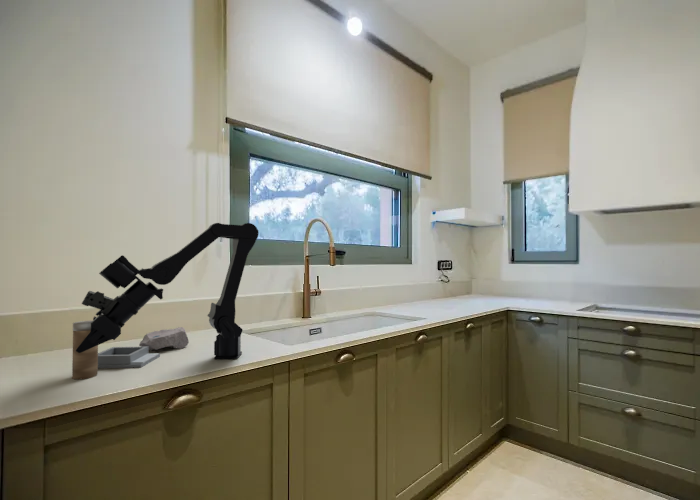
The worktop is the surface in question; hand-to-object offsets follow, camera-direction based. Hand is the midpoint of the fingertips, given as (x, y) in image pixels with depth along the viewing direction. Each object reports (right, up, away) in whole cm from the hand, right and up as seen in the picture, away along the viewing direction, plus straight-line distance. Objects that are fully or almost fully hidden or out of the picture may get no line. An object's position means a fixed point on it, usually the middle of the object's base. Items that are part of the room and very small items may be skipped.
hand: (78, 349), depth 89 cm
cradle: (+2, -7, +13) cm, 15 cm away
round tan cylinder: (+1, -7, +1) cm, 7 cm away
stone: (+6, -8, +28) cm, 30 cm away
